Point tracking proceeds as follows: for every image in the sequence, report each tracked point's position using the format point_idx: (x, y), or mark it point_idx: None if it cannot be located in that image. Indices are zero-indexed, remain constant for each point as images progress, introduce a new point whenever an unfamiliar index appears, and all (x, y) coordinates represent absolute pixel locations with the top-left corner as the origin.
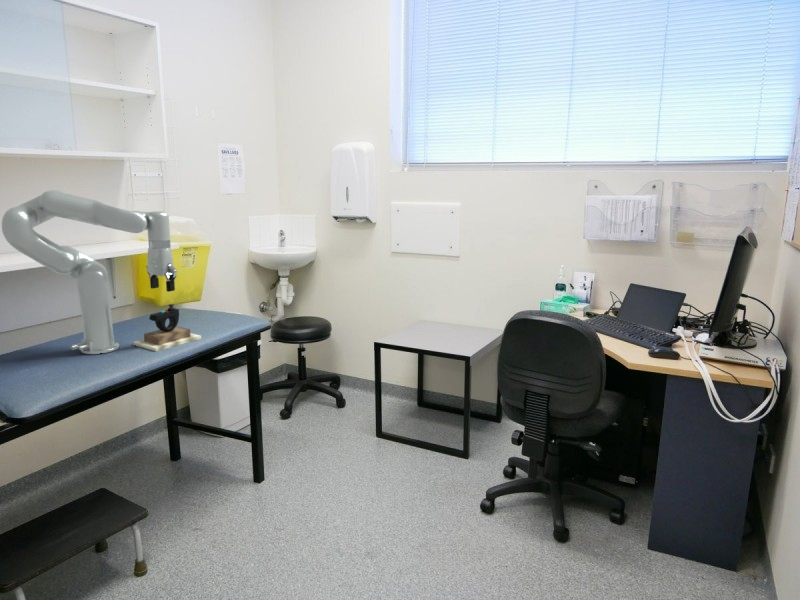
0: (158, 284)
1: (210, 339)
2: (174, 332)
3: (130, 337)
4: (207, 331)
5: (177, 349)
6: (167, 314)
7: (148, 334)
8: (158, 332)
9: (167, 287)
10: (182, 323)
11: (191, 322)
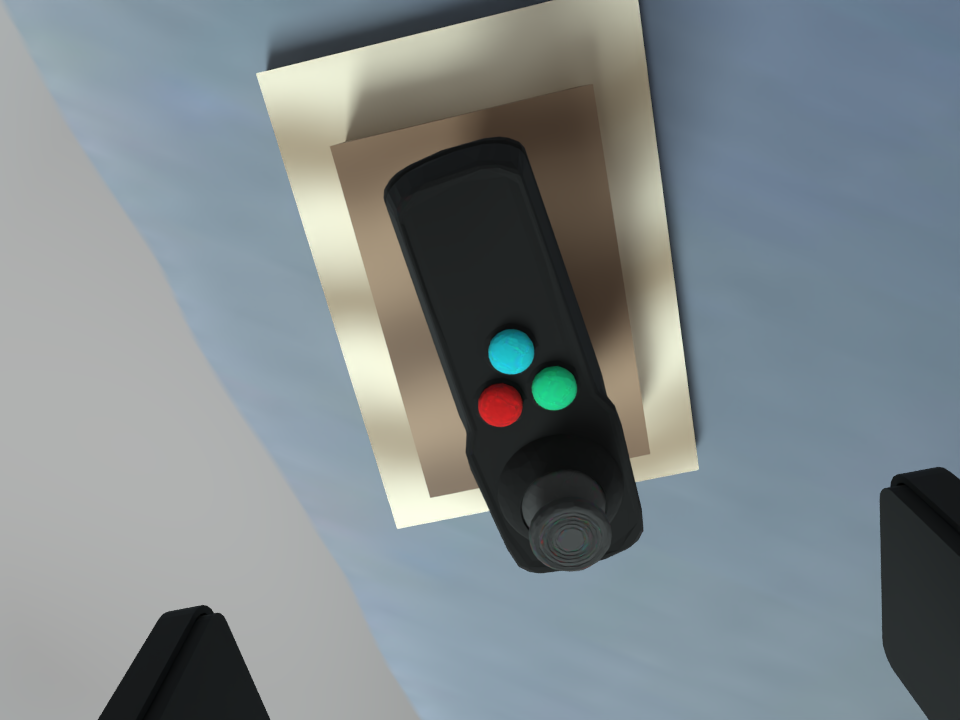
0: (933, 715)
1: (329, 551)
2: (412, 348)
3: (923, 73)
4: (565, 625)
5: (211, 248)
6: (449, 384)
7: (524, 113)
8: None
9: (119, 702)
10: None
11: None
